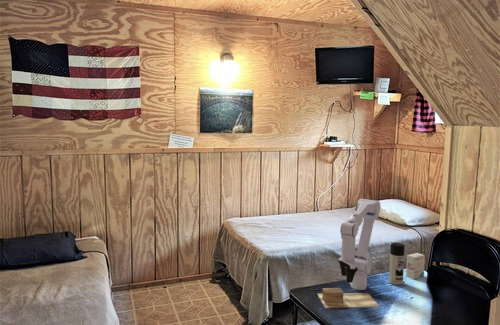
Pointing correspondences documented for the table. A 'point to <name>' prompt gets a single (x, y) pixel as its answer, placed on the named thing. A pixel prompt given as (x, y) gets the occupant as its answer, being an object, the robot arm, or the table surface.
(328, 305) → the board
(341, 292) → the block
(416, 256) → the ink box
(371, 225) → the robot arm
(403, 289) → the table surface
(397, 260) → the spray can
